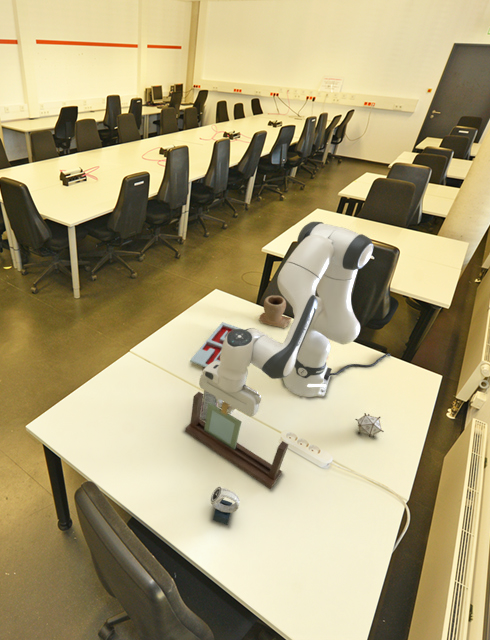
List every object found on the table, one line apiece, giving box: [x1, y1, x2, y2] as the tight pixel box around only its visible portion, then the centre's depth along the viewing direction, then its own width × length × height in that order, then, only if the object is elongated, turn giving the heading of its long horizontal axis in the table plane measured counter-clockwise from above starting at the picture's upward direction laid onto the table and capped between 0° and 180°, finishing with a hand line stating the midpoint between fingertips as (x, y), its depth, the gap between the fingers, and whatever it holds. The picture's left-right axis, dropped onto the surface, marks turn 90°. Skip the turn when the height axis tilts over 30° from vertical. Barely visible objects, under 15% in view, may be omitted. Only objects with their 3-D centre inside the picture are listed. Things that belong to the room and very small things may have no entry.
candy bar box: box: [200, 390, 217, 421], centre depth 145 cm, size 11×5×16 cm, turn 168°
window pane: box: [204, 401, 243, 450], centre depth 130 cm, size 1×12×18 cm, turn 48°
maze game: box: [189, 321, 242, 370], centre depth 178 cm, size 35×20×3 cm, turn 148°
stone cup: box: [258, 294, 292, 329], centre depth 194 cm, size 15×12×15 cm
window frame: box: [184, 391, 289, 490], centre depth 129 cm, size 7×34×17 cm, turn 48°
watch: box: [210, 486, 240, 526], centre depth 113 cm, size 6×8×11 cm
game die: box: [355, 412, 384, 438], centre depth 140 cm, size 9×8×10 cm
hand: (225, 409), depth 127 cm, fingers closed on window pane, 2 cm apart
